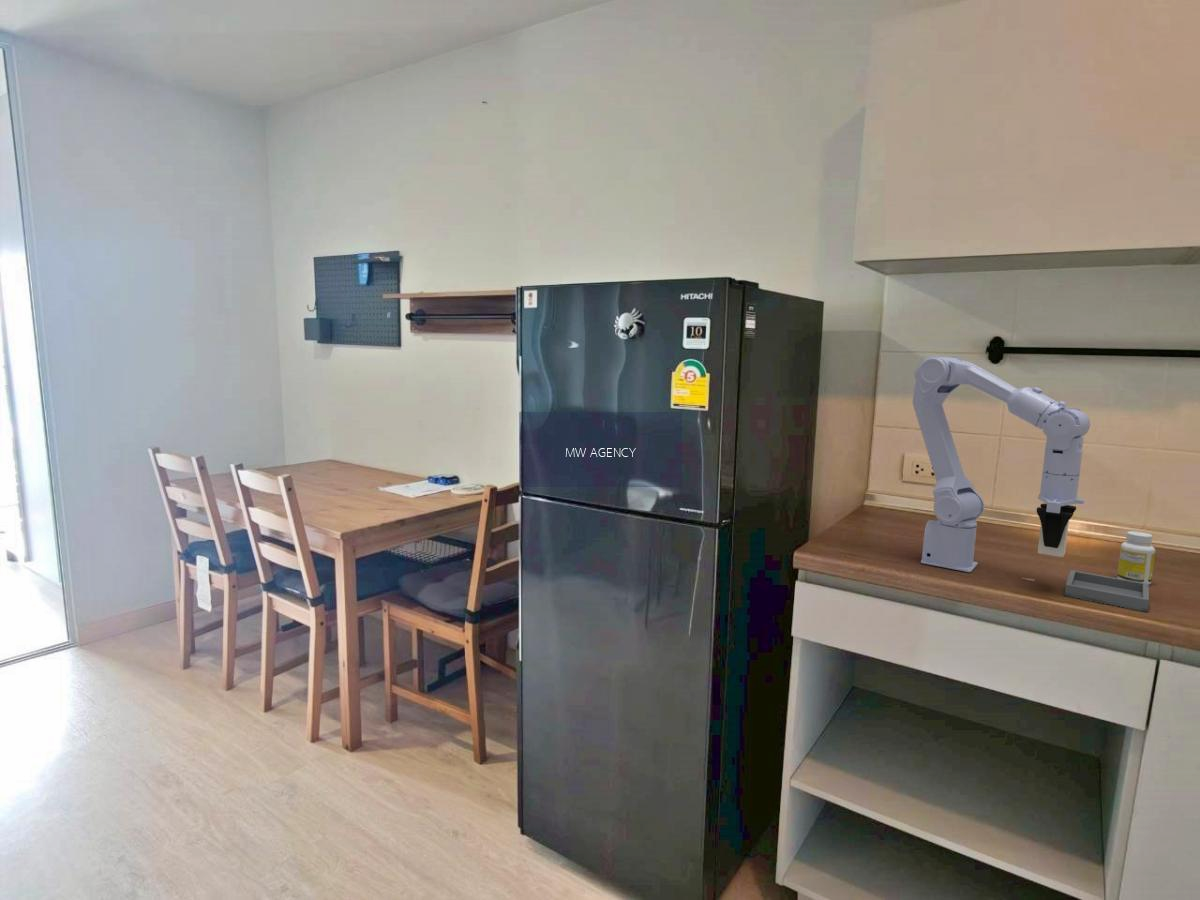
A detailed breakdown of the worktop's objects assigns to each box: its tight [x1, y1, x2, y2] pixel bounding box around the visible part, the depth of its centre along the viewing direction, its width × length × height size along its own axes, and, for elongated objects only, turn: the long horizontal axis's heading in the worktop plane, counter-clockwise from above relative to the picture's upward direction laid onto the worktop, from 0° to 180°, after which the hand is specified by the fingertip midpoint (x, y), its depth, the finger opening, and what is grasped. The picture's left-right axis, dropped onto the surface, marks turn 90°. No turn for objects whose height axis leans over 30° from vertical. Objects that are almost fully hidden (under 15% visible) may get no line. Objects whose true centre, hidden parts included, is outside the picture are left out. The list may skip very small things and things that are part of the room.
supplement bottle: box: [1116, 530, 1156, 586], centre depth 135 cm, size 5×5×10 cm
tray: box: [1063, 569, 1150, 613], centre depth 126 cm, size 12×12×2 cm
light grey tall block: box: [1037, 520, 1070, 558], centre depth 127 cm, size 4×4×7 cm
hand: (1052, 544), depth 128 cm, fingers closed on light grey tall block, 4 cm apart
